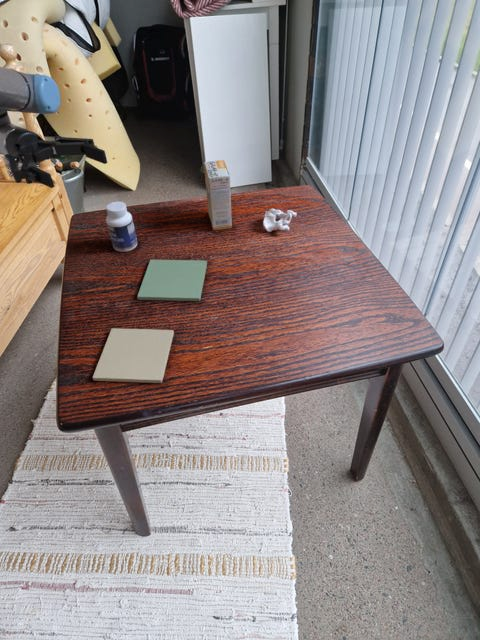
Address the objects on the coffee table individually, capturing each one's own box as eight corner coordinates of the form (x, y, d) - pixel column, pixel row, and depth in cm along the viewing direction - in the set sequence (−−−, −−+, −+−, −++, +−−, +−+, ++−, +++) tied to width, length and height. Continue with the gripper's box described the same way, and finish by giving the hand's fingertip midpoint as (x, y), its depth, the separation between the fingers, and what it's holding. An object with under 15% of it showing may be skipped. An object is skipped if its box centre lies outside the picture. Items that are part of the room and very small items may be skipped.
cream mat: (93, 380, 66) (92, 377, 66) (112, 331, 74) (111, 328, 74) (162, 383, 66) (161, 380, 65) (174, 333, 74) (173, 329, 73)
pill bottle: (109, 251, 92) (97, 211, 85) (119, 237, 96) (109, 198, 89) (131, 254, 91) (122, 213, 84) (141, 240, 95) (133, 201, 88)
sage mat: (137, 299, 80) (136, 296, 80) (150, 262, 89) (150, 259, 88) (200, 301, 80) (199, 298, 79) (207, 263, 88) (207, 260, 88)
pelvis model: (289, 223, 92) (260, 216, 93) (286, 239, 95) (258, 232, 96) (298, 205, 97) (271, 199, 99) (295, 221, 100) (269, 214, 102)
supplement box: (207, 213, 103) (202, 161, 94) (226, 211, 104) (224, 159, 94) (212, 231, 97) (207, 177, 88) (232, 228, 98) (230, 175, 89)
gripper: (71, 144, 106) (127, 164, 97) (-23, 181, 92) (32, 209, 83) (62, 112, 101) (120, 131, 92) (-40, 147, 87) (17, 173, 78)
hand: (79, 168), depth 87 cm, fingers open, 13 cm apart
